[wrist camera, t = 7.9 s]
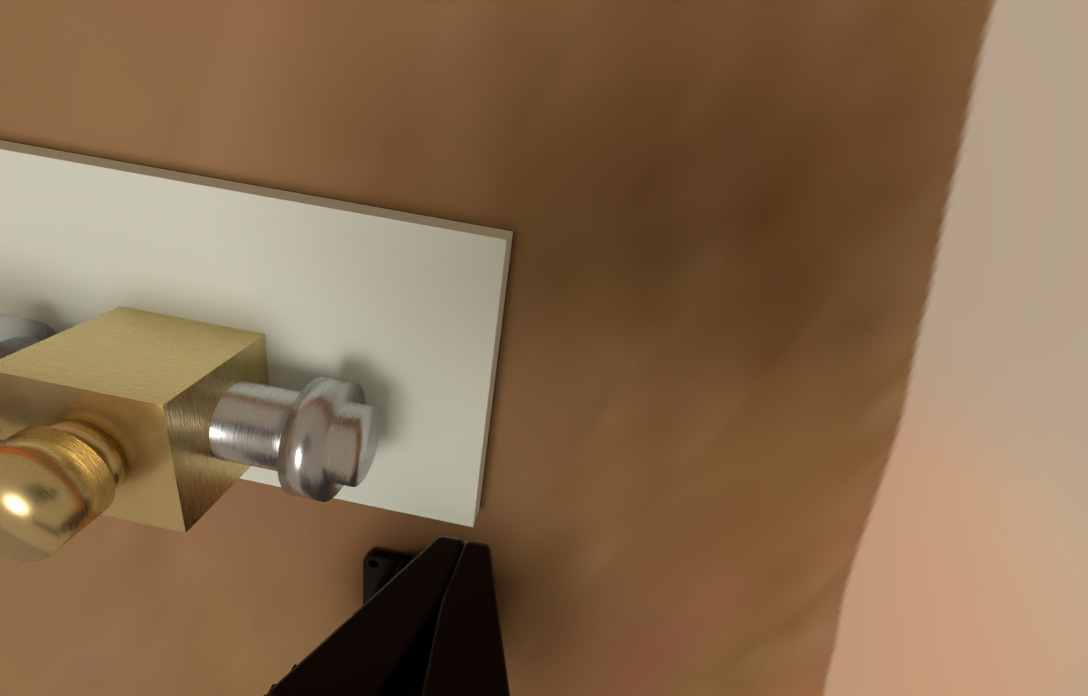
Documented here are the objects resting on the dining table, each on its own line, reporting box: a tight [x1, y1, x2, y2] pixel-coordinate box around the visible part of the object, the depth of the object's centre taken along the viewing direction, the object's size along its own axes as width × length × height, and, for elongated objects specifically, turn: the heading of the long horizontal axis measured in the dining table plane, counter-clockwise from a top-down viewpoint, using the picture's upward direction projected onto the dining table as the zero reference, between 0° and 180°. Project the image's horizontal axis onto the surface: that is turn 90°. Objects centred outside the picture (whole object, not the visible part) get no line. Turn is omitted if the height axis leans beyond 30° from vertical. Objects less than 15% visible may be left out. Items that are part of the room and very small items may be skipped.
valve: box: [0, 306, 381, 533], centre depth 21 cm, size 16×5×6 cm, turn 82°
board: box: [0, 140, 513, 527], centre depth 23 cm, size 13×24×1 cm, turn 82°
